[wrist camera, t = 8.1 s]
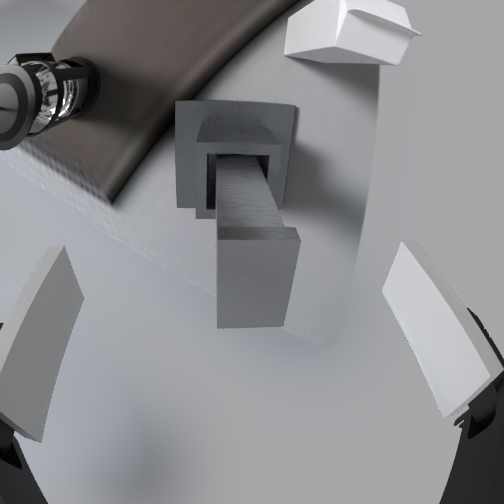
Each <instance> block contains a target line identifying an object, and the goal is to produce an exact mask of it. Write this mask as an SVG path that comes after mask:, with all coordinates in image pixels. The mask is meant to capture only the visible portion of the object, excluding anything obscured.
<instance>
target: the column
mask: <svg viewBox="0 0 504 504" xmlns="http://www.w3.org/2000/svg"><path fill="white" fill-rule="evenodd" d="M300 243H301V239H300V237H299V235H298V233H297V230H296V228H295V227H285V226H284V224H283V221H282V219H281V216H280V214H279V211H278V209H277V206H276V204H275V201H274V199H273V196H272V194H271V191H270V189H269V187H268V184H267V182H266V179H265V177H264V174H263V172H262V170H261V167H260V165H259V163H258V160H257V158H256V156H251V155H217V163H216V285H217V328H257V327H281V326H283V325H284V320H285V316H286V311H287V307H288V302H289V297H290V293H291V288H292V283H293V278H294V273H295V268H296V263H297V258H298V253H299V248H300Z"/></svg>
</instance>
